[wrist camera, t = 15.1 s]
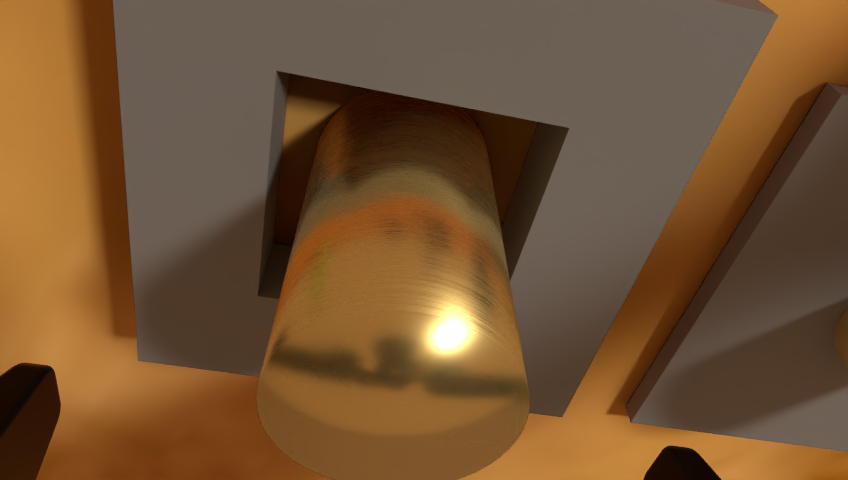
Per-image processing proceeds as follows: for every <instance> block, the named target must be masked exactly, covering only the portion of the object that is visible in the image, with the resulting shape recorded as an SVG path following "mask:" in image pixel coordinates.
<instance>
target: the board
mask: <svg viewBox="0 0 848 480" xmlns="http://www.w3.org/2000/svg"><path fill="white" fill-rule="evenodd" d="M626 409H627V412H628V415H629V418H630V422H631V423H638V424H645V425H653V426H660V427H668V428H675V429H682V430H690V431H697V432H705V433H712V434H720V435H727V436H734V437H742V438H749V439H757V440H764V441H772V442H779V443H787V444H794V445H801V446H809V447H816V448H824V449H831V450H839V451H846V452H848V87H846V86H841V85H836V84H832V83H827V84H826V85H825V87H824V89H823V90H822V92H821V93H820V95H819V97H818V98H817V100H816V102H815V103H814V105H813V106H812V108H811V110H810V111H809V113H808V114H807V116H806V118H805V119H804V121H803V122H802V124H801V126H800V127H799V129H798V131H797V132H796V134H795V135H794V137H793V139H792V140H791V142H790V143H789V145H788V147H787V148H786V150H785V151H784V153H783V155H782V156H781V158H780V159H779V161H778V163H777V164H776V166H775V168H774V169H773V171H772V172H771V174H770V176H769V177H768V179H767V180H766V182H765V184H764V185H763V187H762V188H761V190H760V192H759V193H758V195H757V196H756V198H755V200H754V201H753V203H752V205H751V206H750V208H749V209H748V211H747V213H746V214H745V216H744V217H743V219H742V221H741V222H740V224H739V225H738V227H737V229H736V230H735V232H734V233H733V235H732V237H731V238H730V240H729V242H728V243H727V245H726V246H725V248H724V250H723V251H722V253H721V254H720V256H719V258H718V259H717V261H716V262H715V264H714V266H713V267H712V269H711V271H710V272H709V274H708V275H707V277H706V279H705V280H704V282H703V283H702V285H701V287H700V288H699V290H698V291H697V293H696V295H695V296H694V298H693V299H692V301H691V303H690V304H689V306H688V308H687V309H686V311H685V312H684V314H683V316H682V317H681V319H680V320H679V322H678V324H677V325H676V327H675V328H674V330H673V332H672V333H671V335H670V336H669V338H668V340H667V341H666V343H665V345H664V346H663V348H662V349H661V351H660V353H659V354H658V356H657V357H656V359H655V361H654V362H653V364H652V365H651V367H650V369H649V370H648V372H647V374H646V375H645V377H644V378H643V380H642V382H641V383H640V385H639V386H638V388H637V390H636V391H635V393H634V394H633V396H632V398H631V399H630V401H629V402H628V404H627V406H626Z"/></svg>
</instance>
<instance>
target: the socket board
mask: <svg viewBox="0 0 848 480" xmlns="http://www.w3.org/2000/svg"><path fill="white" fill-rule="evenodd" d="M113 11H114V25H115V39H116V53H117V67H118V82H119V96H120V110H121V124H122V138H123V152H124V166H125V180H126V194H127V209H128V223H129V237H130V251H131V265H132V279H133V293H134V307H135V321H136V335H137V350H138V361H145V362H153V363H160V364H167V365H175V366H182V367H190V368H197V369H205V370H212V371H220V372H227V373H235V374H242V375H250V376H257V377H260V374H261V370H262V366H263V362H264V358H265V354H266V350H267V346H268V342H269V338H270V334H271V330H272V326H273V322H274V318H275V314H276V310H277V306H278V302H279V298H280V294H281V290H282V286H283V282H284V278H285V274H286V270H287V266H288V262H289V258H290V254H291V250H292V246H291V245H284V244H278V243H273V240H274V229H275V219H276V208H277V198H278V187H279V177H280V166H281V156H282V145H283V135H284V124H285V114H286V103H287V93H288V82H289V73H291V74H296V75H301V76H306V77H311V78H316V79H321V80H327V81H332V82H337V83H342V84H347V85H352V86H357V87H362V88H368V89H373V90H378V91H383V92H388V93H393V94H398V95H403V96H408V97H414V98H419V99H424V100H429V101H434V102H439V103H444V104H449V105H455V106H460V107H465V108H470V109H475V110H480V111H485V112H490V113H495V114H501V115H506V116H511V117H516V118H521V119H526V120H531V121H536V122H539V123H538V126H537V129H536V131H535V134H534V137H533V140H532V143H531V146H530V148H529V151H528V154H527V157H526V160H525V163H524V165H523V168H522V171H521V174H520V177H519V179H518V182H517V185H516V188H515V191H514V194H513V196H512V199H511V202H510V205H509V208H508V211H507V213H506V216H505V219H504V222H503V225H502V228H501V233H502V239H503V244H504V250H505V256H506V262H507V268H508V274H509V279H510V285H511V291H512V297H513V303H514V309H515V314H516V320H517V326H518V332H519V338H520V344H521V350H522V355H523V361H524V367H525V373H526V379H527V385H528V390H529V401H530V408H529V413H534V414H542V415H549V416H557V417H562V416H563V414H564V412H565V411H566V409H567V407H568V405H569V403H570V401H571V399H572V398H573V396H574V394H575V392H576V390H577V388H578V386H579V385H580V383H581V381H582V379H583V377H584V375H585V373H586V372H587V370H588V368H589V366H590V364H591V362H592V360H593V359H594V357H595V355H596V353H597V351H598V349H599V347H600V346H601V344H602V342H603V340H604V338H605V336H606V334H607V333H608V331H609V329H610V327H611V325H612V323H613V321H614V320H615V318H616V316H617V314H618V312H619V310H620V308H621V307H622V305H623V303H624V301H625V299H626V297H627V295H628V294H629V292H630V290H631V288H632V286H633V284H634V282H635V281H636V279H637V277H638V275H639V273H640V271H641V269H642V268H643V266H644V264H645V262H646V260H647V258H648V256H649V255H650V253H651V251H652V249H653V247H654V245H655V243H656V242H657V240H658V238H659V236H660V234H661V232H662V230H663V229H664V227H665V225H666V223H667V221H668V219H669V217H670V215H671V214H672V212H673V210H674V208H675V206H676V204H677V202H678V201H679V199H680V197H681V195H682V193H683V191H684V189H685V188H686V186H687V184H688V182H689V180H690V178H691V176H692V175H693V173H694V171H695V169H696V167H697V165H698V163H699V162H700V160H701V158H702V156H703V154H704V152H705V150H706V149H707V147H708V145H709V143H710V141H711V139H712V137H713V136H714V134H715V132H716V130H717V128H718V126H719V124H720V123H721V121H722V119H723V117H724V115H725V113H726V111H727V110H728V108H729V106H730V104H731V102H732V100H733V98H734V97H735V95H736V93H737V91H738V89H739V87H740V85H741V84H742V82H743V80H744V78H745V76H746V74H747V72H748V71H749V69H750V67H751V65H752V63H753V61H754V59H755V58H756V56H757V54H758V52H759V50H760V48H761V46H762V45H763V43H764V41H765V39H766V37H767V35H768V33H769V32H770V30H771V28H772V26H773V24H774V22H775V20H776V19H777V17H778V15H777V14H776V13H774V12H773V11H772V10H770V9H769V8H768V7H766V6H765V5H764V4H763V3H761V2H760V1H759V0H113Z"/></svg>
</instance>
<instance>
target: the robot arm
mask: <svg viewBox="0 0 848 480" xmlns="http://www.w3.org/2000/svg"><path fill="white" fill-rule="evenodd" d="M60 409H61V403H60V397H59V392H58V386H57V381H56V376H55V372H54V370H53V368H52V367H50V366H47V365H40V364H32V363H20V364H17V365H15V366H14V367H12V368H11V369H9V370H8V371H6V372H5V373H4V374H2V375H1V376H0V480H36V478H37V475H38V472H39V470H40V467H41V464H42V462H43V459H44V456H45V454H46V451H47V448H48V446H49V443H50V440H51V438H52V435H53V432H54V430H55V427H56V424H57V422H58V419H59V415H60ZM644 480H721V479H720V478H719V476H718V475H717V474H716V473H715V472H714V471H713V470H712V468H711V467H710V466H709V465H708V464H707V463H706V462H705V461H704V459H703V458H702V457H701V456H700V455H699V454H698V453H697V452H696V451H694V450H693V449H690V448H686V447H678V446H667V447H665V448H664V449H663V450H662V451H661V453H660V454H659V456H658V457H657V458H656V460H655V461H654V463H653V464H652V465H651V467H650V468H649V470H648V471H647V472H646V474H645V477H644Z"/></svg>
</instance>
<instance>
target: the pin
mask: <svg viewBox="0 0 848 480" xmlns="http://www.w3.org/2000/svg"><path fill="white" fill-rule="evenodd" d="M256 407H257V412H258V416H259V419H260V421H261V424H262V426H263V428H264V430H265V431H266V433H267V435H268V436H269V438H270V439H271V440H272V441H273V442H274V444H275V445H276V446H277V447H278V448H279V449H280V450H281V451H282V452H284V453H285V454H286V455H287V456H288V457H290V458H291V459H292V460H294V461H295V462H297V463H298V464H300V465H302V466H303V467H305V468H307V469H309V470H311V471H313V472H315V473H318V474H320V475H322V476H325V477H327V478H330V479H334V480H457V479H460V478H463V477H465V476H468V475H470V474H472V473H475V472H477V471H479V470H481V469H482V468H484V467H486V466H488V465H490V464H491V463H492V462H494V461H495V460H497V459H498V458H500V457H501V456H502V455H503V454H504V453H505V452H506V451H507V450H509V449H510V447H511V446H512V445H513V444H514V443H515V441H516V440H517V439H518V437H519V436H520V434H521V432H522V431H523V429H524V426H525V424H526V421H527V419H528V414H529V408H530V401H529V390H528V385H527V379H526V373H525V367H524V361H523V355H522V350H521V344H520V338H519V332H518V326H517V320H516V314H515V309H514V303H513V297H512V291H511V285H510V279H509V274H508V268H507V262H506V256H505V250H504V244H503V239H502V233H501V227H500V221H499V215H498V209H497V203H496V198H495V192H494V186H493V180H492V174H491V168H490V163H489V157H488V151H487V147H486V143H485V140H484V138H483V135H482V133H481V131H480V129H479V127H478V126H477V124H476V123H475V122H474V120H473V119H472V118H471V116H470V115H469V114H468V113H467V112H466V111H465V110H464V109H463V108H461V107H460V106H455V105H449V104H444V103H439V102H434V101H429V100H424V99H419V98H414V97H408V96H403V95H398V94H393V93H388V92H383V91H378V90H373V91H370V92H367V93H364V94H362V95H360V96H358V97H356V98H354V99H352V100H351V101H349V102H348V103H346V104H345V105H344V106H342V107H341V108H340V109H339V110H338V111H337V112H336V113H335V114H334V115H333V116H332V117H331V119H330V120H329V121H328V123H327V124H326V126H325V128H324V130H323V131H322V134H321V136H320V139H319V142H318V146H317V150H316V154H315V158H314V162H313V166H312V170H311V174H310V178H309V182H308V186H307V190H306V194H305V198H304V202H303V206H302V210H301V214H300V218H299V222H298V226H297V230H296V234H295V238H294V242H293V246H292V250H291V254H290V258H289V262H288V266H287V270H286V274H285V278H284V282H283V286H282V290H281V294H280V298H279V302H278V306H277V310H276V314H275V318H274V322H273V326H272V330H271V334H270V338H269V342H268V346H267V350H266V354H265V358H264V362H263V366H262V370H261V374H260V378H259V382H258V387H257V392H256Z"/></svg>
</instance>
